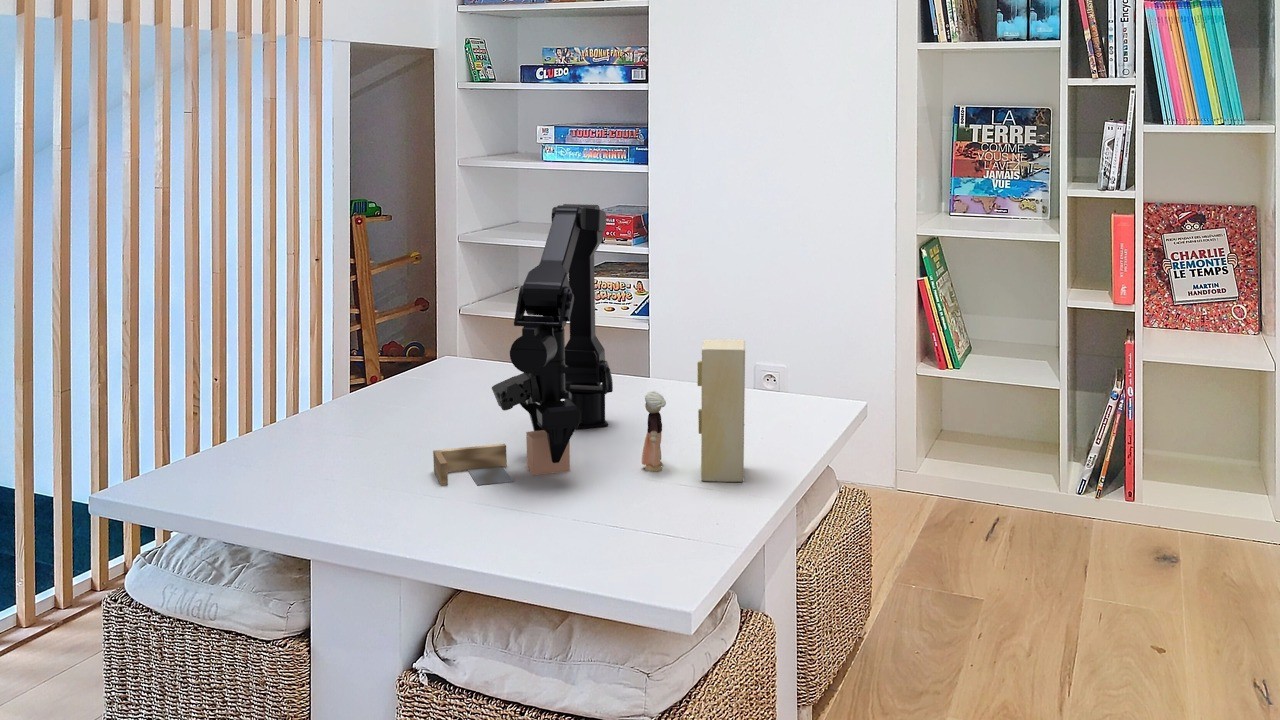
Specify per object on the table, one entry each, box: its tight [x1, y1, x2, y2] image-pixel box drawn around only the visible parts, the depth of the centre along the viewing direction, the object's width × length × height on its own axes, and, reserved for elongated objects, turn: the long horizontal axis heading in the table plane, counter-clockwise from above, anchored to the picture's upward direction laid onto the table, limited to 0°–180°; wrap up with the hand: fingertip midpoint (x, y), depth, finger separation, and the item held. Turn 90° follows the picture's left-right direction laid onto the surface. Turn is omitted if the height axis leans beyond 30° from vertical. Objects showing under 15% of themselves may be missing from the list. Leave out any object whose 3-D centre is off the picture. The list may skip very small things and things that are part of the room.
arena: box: [432, 443, 514, 487], centre depth 184 cm, size 12×9×4 cm
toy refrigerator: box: [697, 338, 746, 483], centre depth 183 cm, size 8×7×21 cm
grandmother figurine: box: [641, 390, 667, 473], centre depth 186 cm, size 8×4×13 cm, turn 5°
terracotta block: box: [526, 430, 571, 476], centre depth 187 cm, size 6×4×6 cm, turn 108°
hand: (548, 454), depth 187 cm, fingers open, 9 cm apart
